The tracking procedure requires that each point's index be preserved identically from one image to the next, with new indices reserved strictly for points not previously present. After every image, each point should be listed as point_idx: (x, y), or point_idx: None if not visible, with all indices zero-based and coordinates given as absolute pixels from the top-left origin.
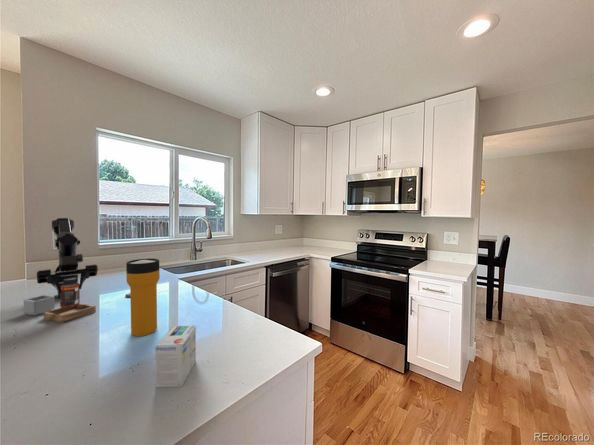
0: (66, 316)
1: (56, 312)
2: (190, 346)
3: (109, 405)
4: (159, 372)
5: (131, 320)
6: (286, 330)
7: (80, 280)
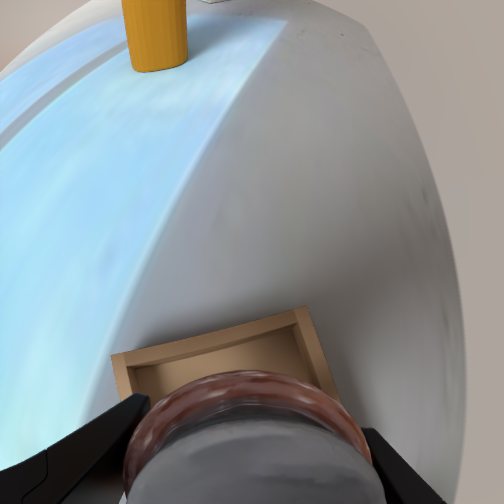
0: (287, 312)
1: None
2: None
3: (292, 3)
4: None
5: (186, 25)
6: (84, 5)
7: (81, 468)
